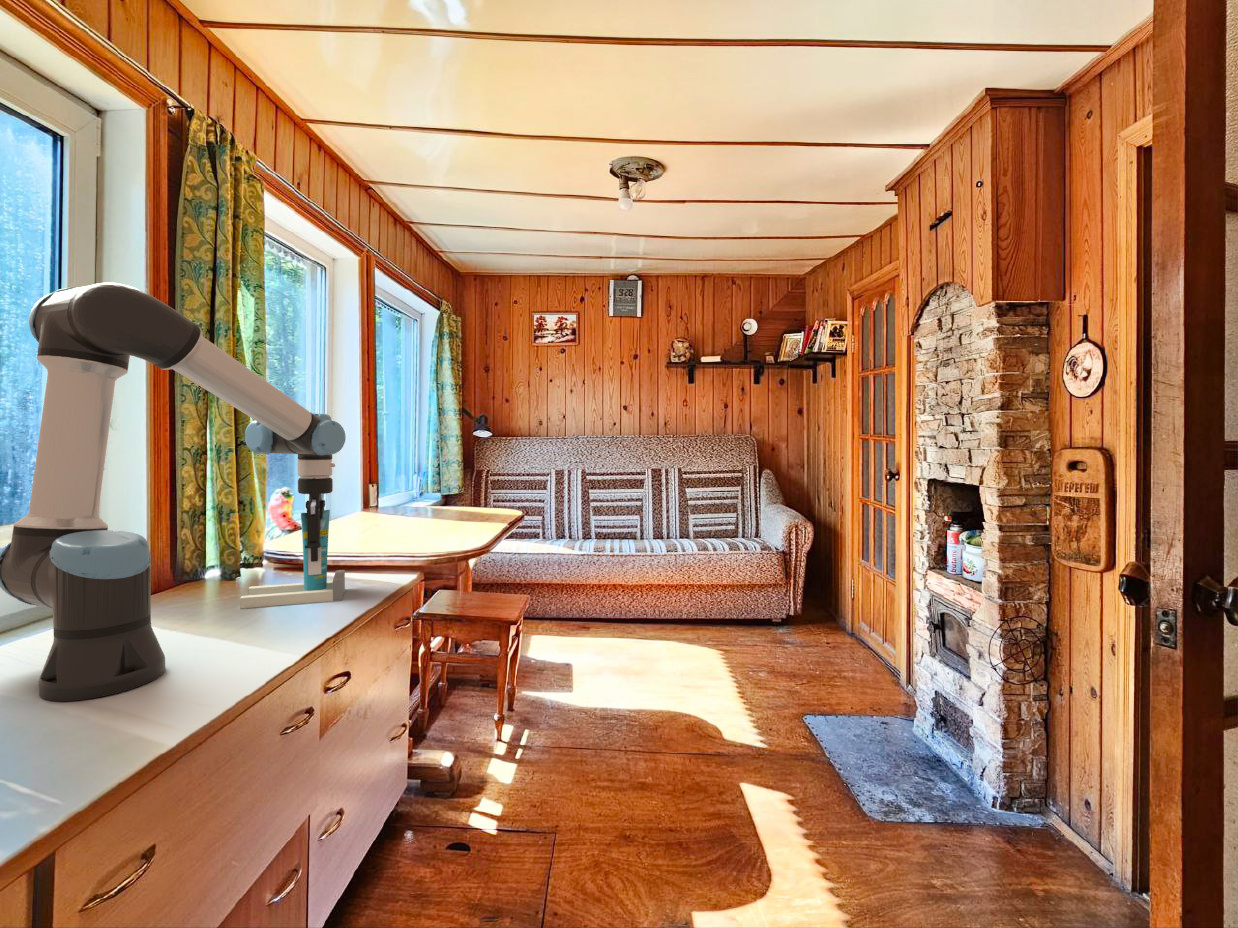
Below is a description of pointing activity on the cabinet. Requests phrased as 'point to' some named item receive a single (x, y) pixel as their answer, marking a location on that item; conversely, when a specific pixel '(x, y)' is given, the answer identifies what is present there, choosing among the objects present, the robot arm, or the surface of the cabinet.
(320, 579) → the tube
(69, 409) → the robot arm
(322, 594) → the track
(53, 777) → the cabinet surface
